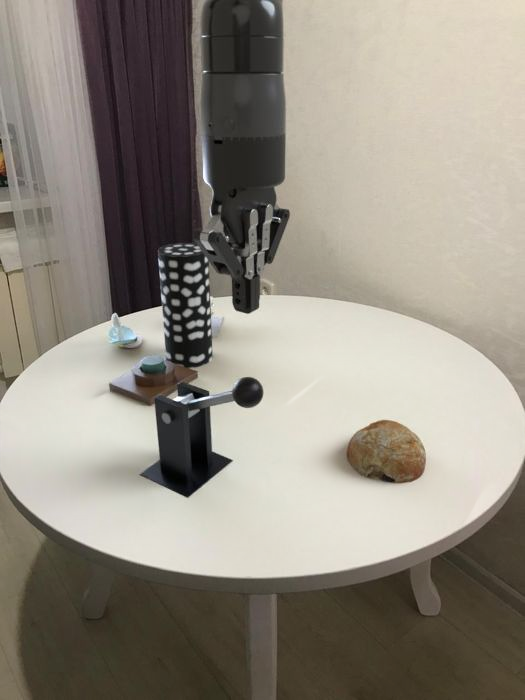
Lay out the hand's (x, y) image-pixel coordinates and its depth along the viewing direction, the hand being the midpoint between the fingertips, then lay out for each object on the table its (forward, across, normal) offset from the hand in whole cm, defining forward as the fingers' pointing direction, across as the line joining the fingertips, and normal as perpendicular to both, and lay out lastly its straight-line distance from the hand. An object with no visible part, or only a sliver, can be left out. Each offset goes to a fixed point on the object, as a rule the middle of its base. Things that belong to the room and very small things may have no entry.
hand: (246, 310), depth 60 cm
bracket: (+25, 0, -10) cm, 27 cm away
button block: (+25, -14, -29) cm, 40 cm away
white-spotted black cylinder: (+25, -26, -32) cm, 48 cm away
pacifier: (+25, -24, -46) cm, 57 cm away
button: (+21, -14, -29) cm, 38 cm away
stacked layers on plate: (+25, -38, -40) cm, 60 cm away
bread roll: (+25, -16, +10) cm, 31 cm away
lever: (+14, 0, -4) cm, 14 cm away
